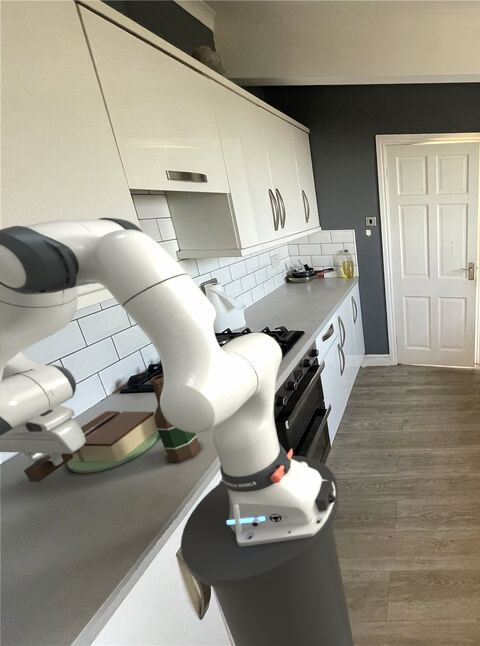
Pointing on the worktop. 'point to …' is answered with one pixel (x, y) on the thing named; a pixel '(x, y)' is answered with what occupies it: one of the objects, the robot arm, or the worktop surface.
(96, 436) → the cake
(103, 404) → the worktop surface
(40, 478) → the knife
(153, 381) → the beer bottle
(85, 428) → the cake slice
